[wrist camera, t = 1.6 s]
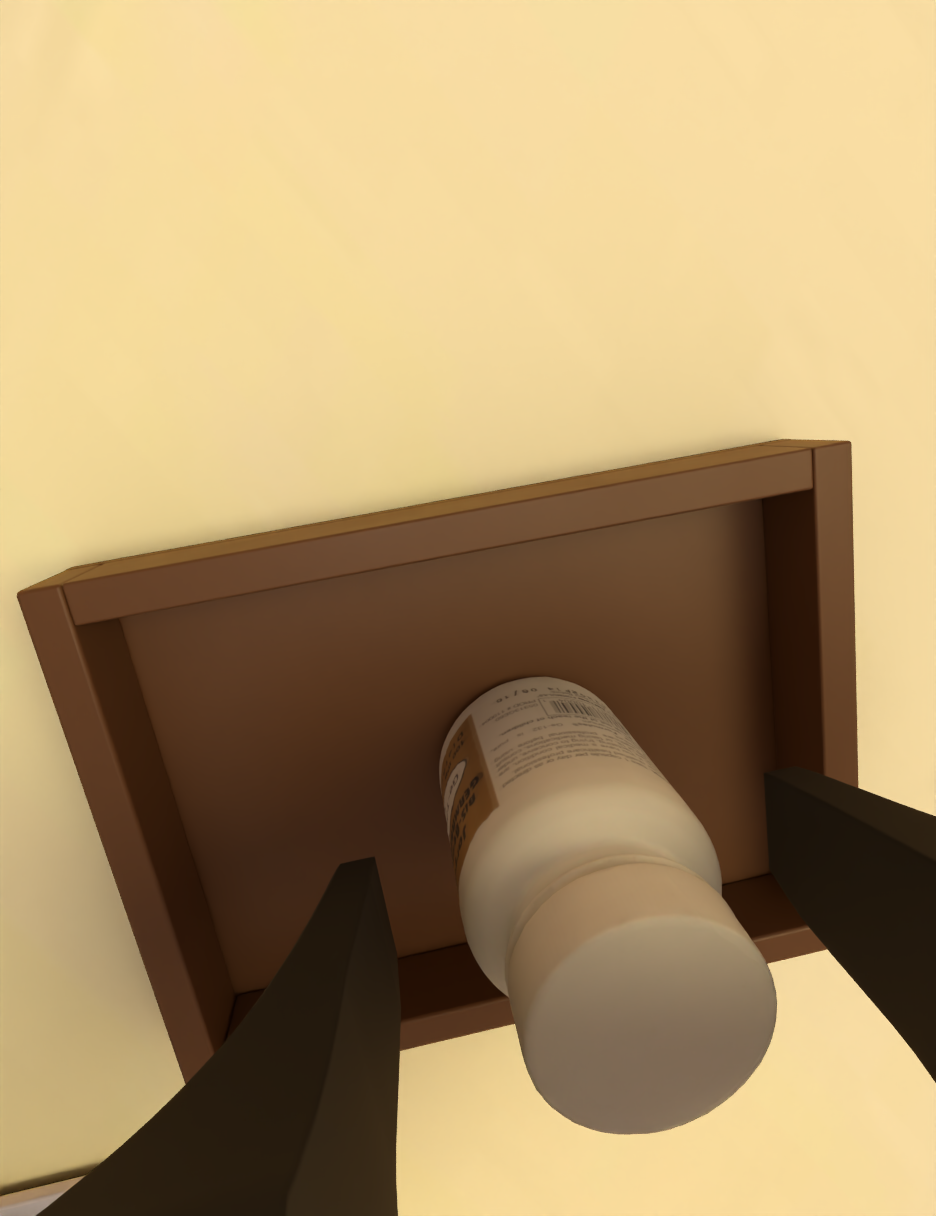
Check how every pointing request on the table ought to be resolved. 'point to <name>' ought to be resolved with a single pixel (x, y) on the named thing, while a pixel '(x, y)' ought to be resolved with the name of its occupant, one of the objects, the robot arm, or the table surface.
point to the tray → (442, 702)
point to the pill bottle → (599, 912)
